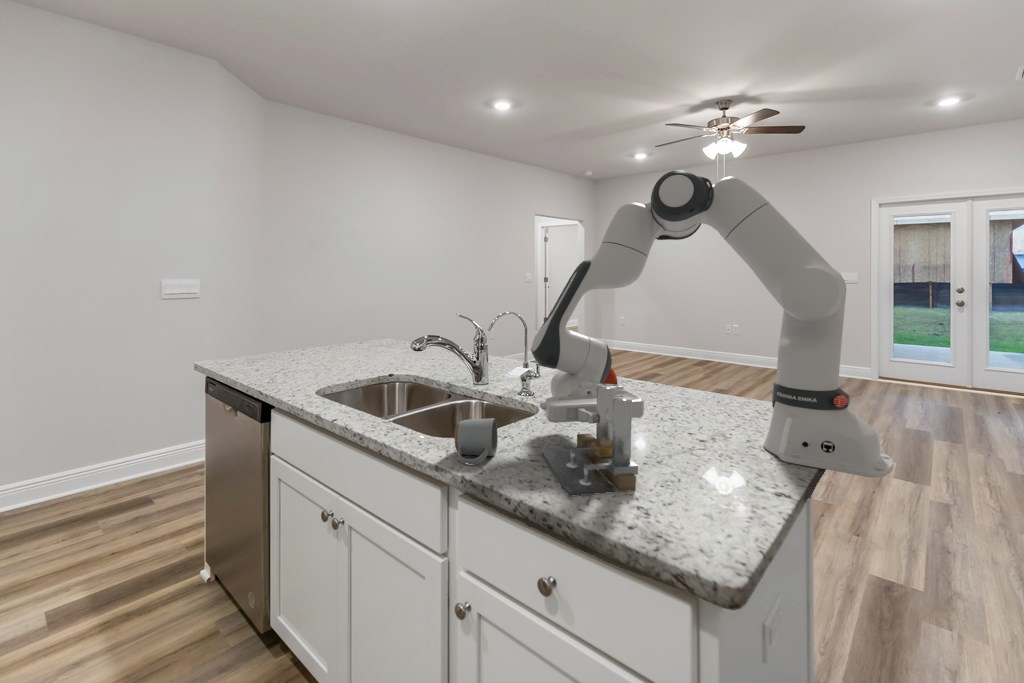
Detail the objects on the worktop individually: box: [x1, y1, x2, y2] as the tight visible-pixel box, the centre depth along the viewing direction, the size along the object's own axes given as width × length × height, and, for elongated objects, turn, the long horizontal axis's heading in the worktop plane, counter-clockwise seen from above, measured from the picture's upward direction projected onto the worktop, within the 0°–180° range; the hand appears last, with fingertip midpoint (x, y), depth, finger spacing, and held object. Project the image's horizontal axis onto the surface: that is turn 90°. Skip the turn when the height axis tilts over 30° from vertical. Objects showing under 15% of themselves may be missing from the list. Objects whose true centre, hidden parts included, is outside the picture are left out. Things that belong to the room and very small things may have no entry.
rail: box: [576, 433, 637, 492], centre depth 97 cm, size 24×3×2 cm, turn 10°
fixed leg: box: [584, 397, 639, 481], centre depth 87 cm, size 4×9×14 cm, turn 100°
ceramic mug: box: [454, 417, 499, 465], centre depth 102 cm, size 11×8×8 cm
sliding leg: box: [570, 386, 615, 464], centre depth 95 cm, size 4×9×14 cm, turn 100°
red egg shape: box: [603, 367, 619, 385], centre depth 149 cm, size 8×8×11 cm
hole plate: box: [540, 448, 615, 497], centre depth 94 cm, size 20×8×1 cm, turn 10°
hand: (607, 418), depth 94 cm, fingers open, 4 cm apart
